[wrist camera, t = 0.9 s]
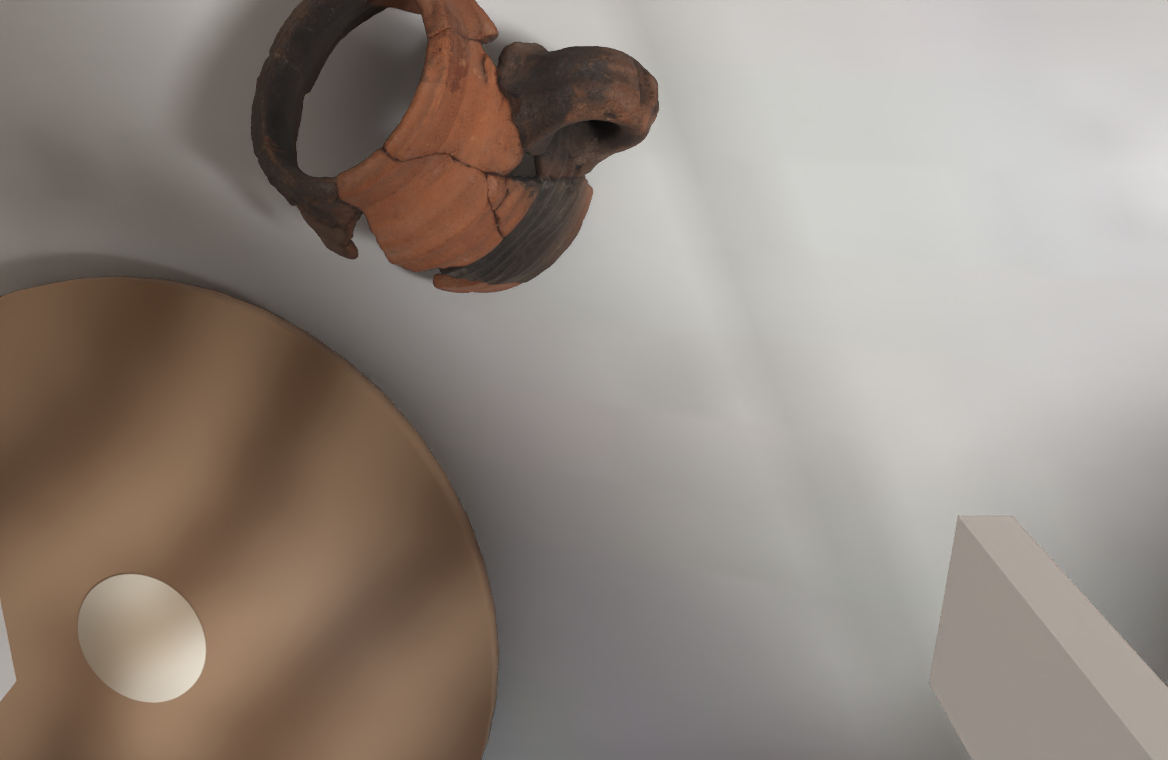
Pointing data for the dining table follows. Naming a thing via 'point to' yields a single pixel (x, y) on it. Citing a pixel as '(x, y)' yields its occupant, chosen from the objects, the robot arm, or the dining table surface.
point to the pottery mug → (457, 143)
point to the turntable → (224, 542)
